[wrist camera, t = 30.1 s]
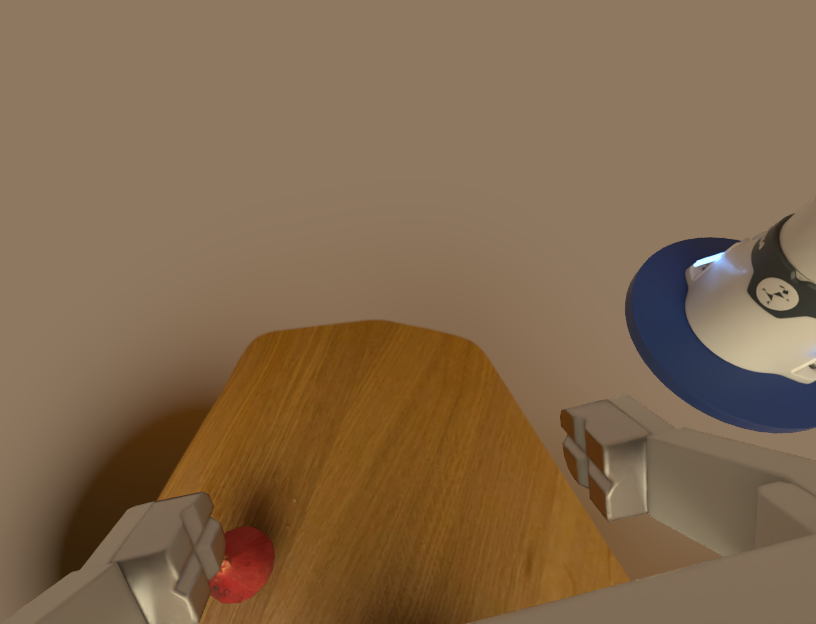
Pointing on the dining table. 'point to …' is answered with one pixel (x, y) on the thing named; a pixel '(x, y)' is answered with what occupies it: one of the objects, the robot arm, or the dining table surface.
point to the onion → (243, 565)
